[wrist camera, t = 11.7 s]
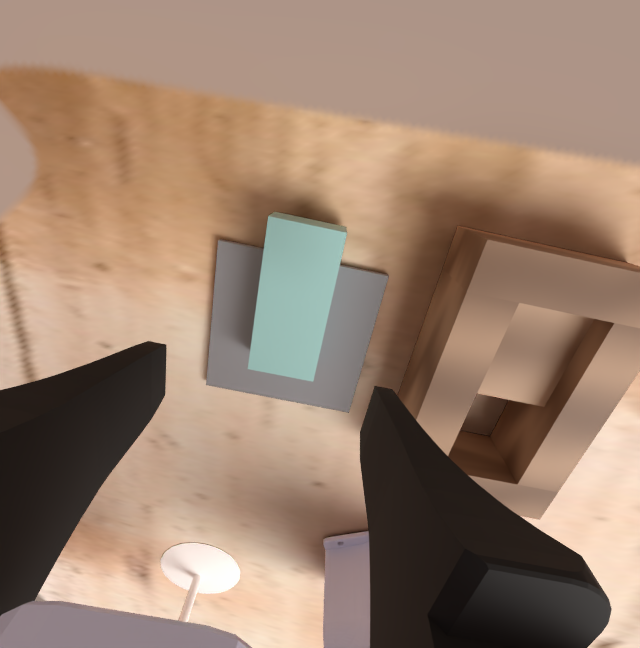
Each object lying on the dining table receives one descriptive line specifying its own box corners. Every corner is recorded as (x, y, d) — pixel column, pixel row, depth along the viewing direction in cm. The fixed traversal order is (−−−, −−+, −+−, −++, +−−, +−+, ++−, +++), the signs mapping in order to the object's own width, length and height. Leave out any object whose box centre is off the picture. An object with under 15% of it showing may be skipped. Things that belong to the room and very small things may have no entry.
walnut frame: (510, 468, 26) (539, 519, 23) (380, 443, 26) (387, 491, 22) (628, 262, 20) (697, 285, 16) (457, 225, 20) (487, 239, 16)
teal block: (315, 364, 23) (313, 381, 21) (254, 353, 23) (247, 368, 21) (346, 226, 19) (347, 232, 18) (274, 211, 19) (268, 216, 17)
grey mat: (348, 409, 25) (348, 412, 24) (208, 381, 24) (206, 384, 24) (387, 274, 21) (388, 276, 20) (220, 239, 20) (218, 240, 20)
